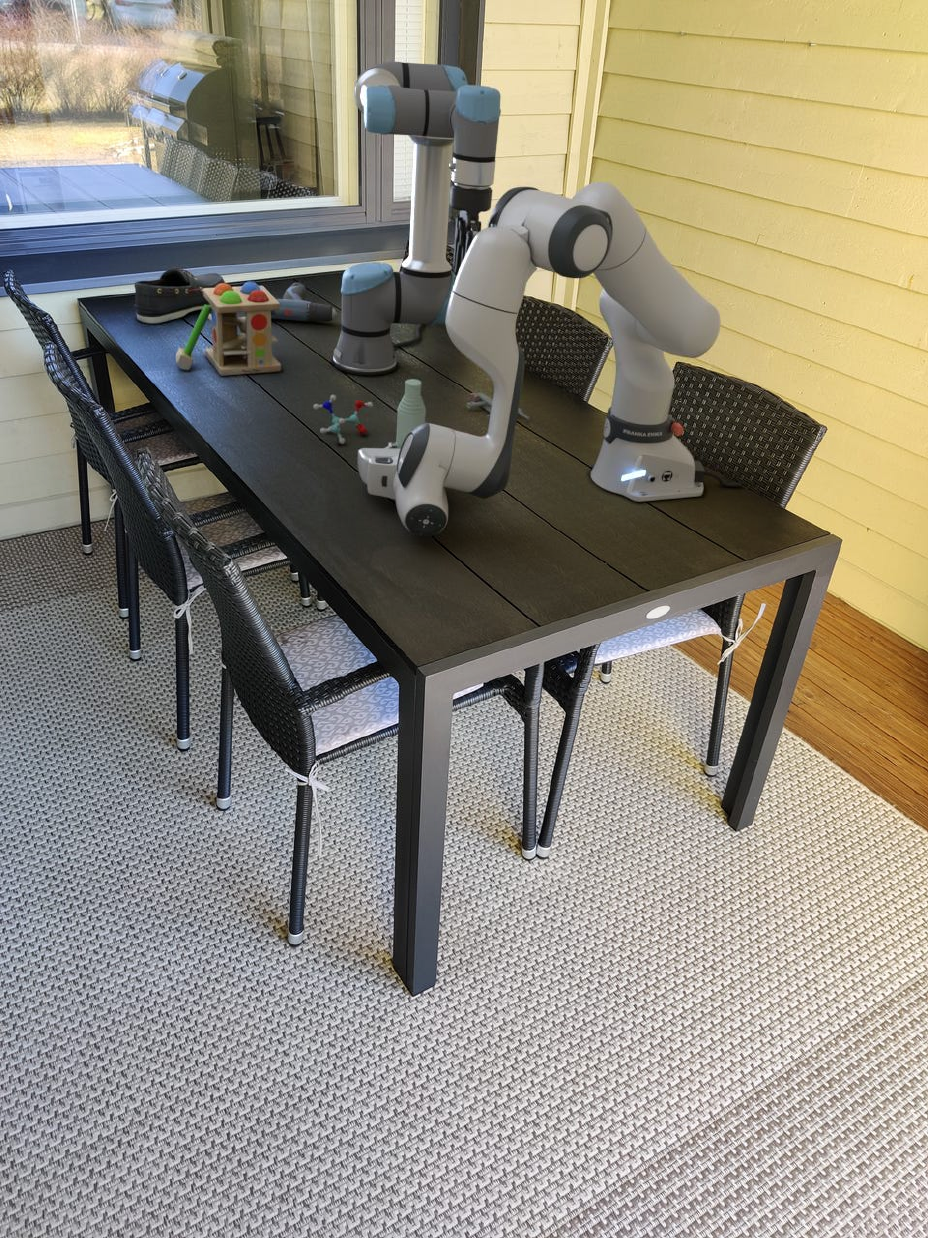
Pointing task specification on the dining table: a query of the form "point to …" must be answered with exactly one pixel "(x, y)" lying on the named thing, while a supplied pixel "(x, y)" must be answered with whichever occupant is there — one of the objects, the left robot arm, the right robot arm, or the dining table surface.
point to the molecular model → (338, 421)
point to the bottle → (410, 411)
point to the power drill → (301, 307)
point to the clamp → (485, 403)
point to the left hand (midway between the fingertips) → (461, 315)
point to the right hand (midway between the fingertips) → (408, 446)
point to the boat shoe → (172, 295)
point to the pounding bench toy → (229, 347)
